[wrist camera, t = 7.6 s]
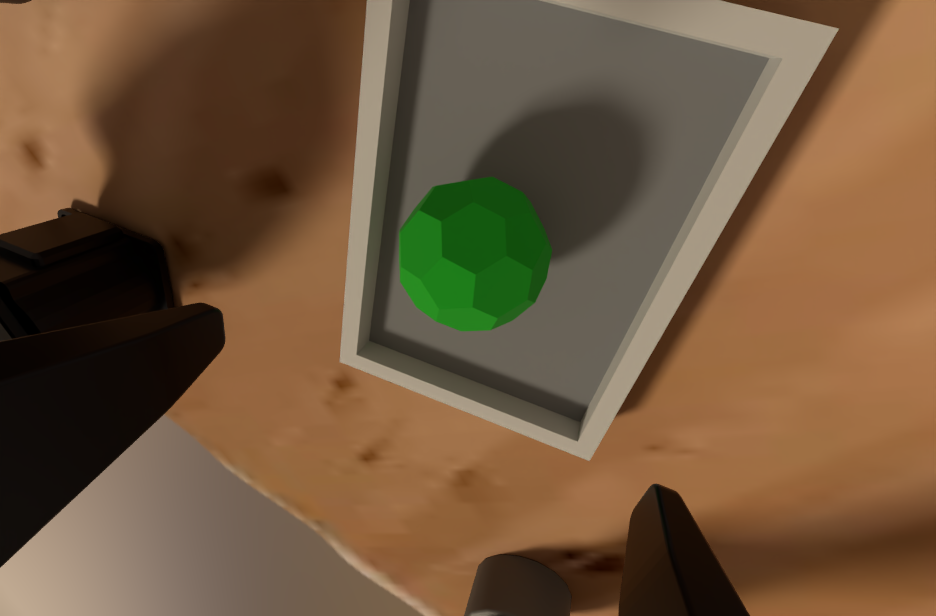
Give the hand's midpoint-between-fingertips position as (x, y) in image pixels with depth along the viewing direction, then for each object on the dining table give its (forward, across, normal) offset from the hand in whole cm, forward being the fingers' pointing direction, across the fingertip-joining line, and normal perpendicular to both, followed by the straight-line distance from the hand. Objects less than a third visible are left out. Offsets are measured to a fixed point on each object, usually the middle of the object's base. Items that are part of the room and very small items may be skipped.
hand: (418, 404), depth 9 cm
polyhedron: (+10, +1, 0) cm, 10 cm away
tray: (+10, 0, 0) cm, 10 cm away
